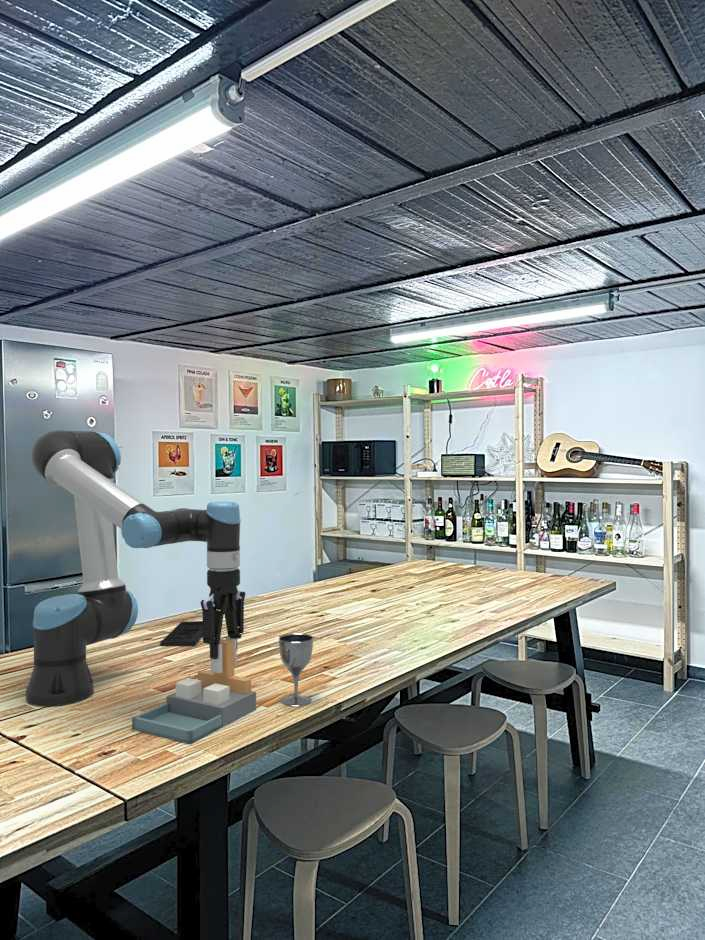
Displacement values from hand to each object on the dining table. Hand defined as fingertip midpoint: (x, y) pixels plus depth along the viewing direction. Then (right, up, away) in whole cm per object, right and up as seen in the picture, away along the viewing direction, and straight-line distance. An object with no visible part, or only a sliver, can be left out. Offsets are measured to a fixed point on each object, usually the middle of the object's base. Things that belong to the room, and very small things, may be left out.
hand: (223, 668), depth 161 cm
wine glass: (+16, -9, +3) cm, 19 cm away
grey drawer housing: (-2, -9, -4) cm, 10 cm away
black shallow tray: (-21, -8, +64) cm, 68 cm away
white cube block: (-7, -5, -5) cm, 10 cm away
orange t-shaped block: (0, -4, 0) cm, 4 cm away
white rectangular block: (0, -5, -8) cm, 10 cm away
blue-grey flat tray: (-7, -9, -13) cm, 18 cm away
